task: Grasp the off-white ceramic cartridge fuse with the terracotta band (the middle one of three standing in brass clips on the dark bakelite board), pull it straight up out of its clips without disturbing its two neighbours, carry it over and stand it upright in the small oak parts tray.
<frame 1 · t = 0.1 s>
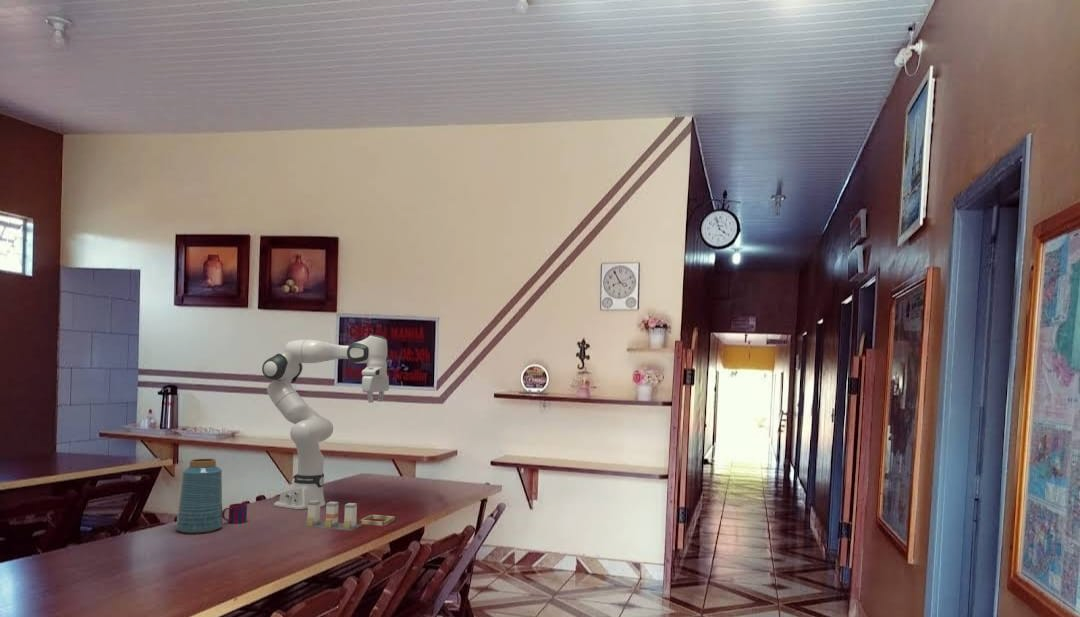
hand: (375, 402, 326), 48 cm above the table, fingers open, 8 cm apart
fuse right: (350, 527, 286), point 1 cm above the table, touching fuse board
mug: (233, 523, 295), on the table
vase: (199, 529, 282), on the table
tray: (377, 524, 297), on the table
fuse marked: (331, 525, 288), point 1 cm above the table, touching fuse board
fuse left: (313, 524, 290), point 1 cm above the table, touching fuse board
fuse board: (331, 528, 288), on the table
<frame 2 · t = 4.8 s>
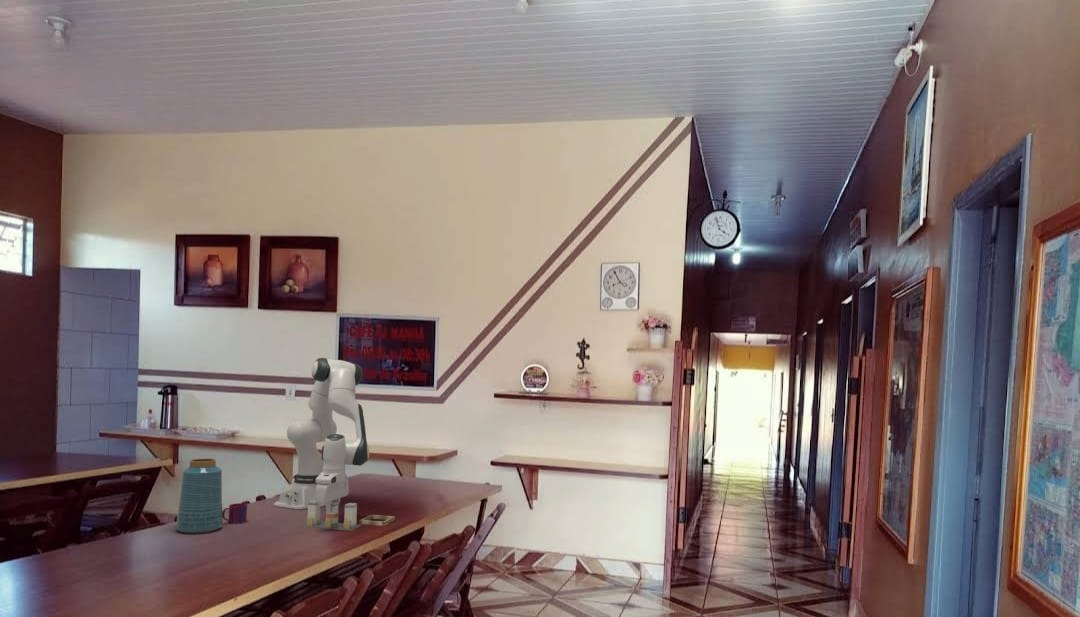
hand: (332, 511, 289), 7 cm above the table, fingers closed on fuse marked, 3 cm apart
fuse marked: (331, 525, 288), point 1 cm above the table, touching fuse board, gripper
everything else where it was.
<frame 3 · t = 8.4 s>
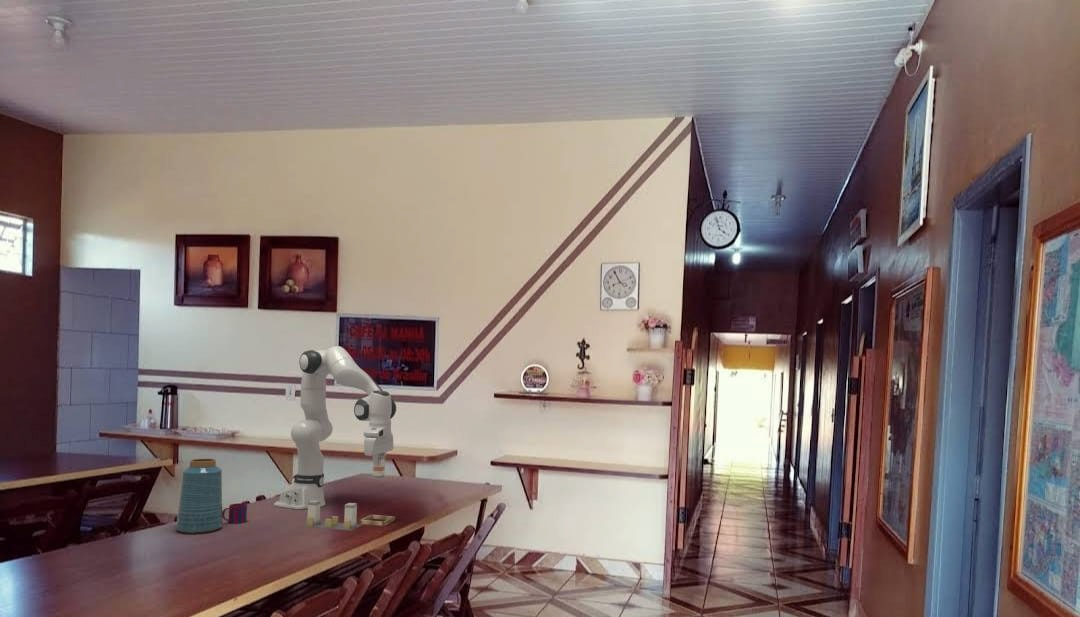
hand: (378, 464, 298), 24 cm above the table, fingers closed on fuse marked, 3 cm apart
fuse marked: (378, 478, 298), point 19 cm above the table, touching gripper
everything else where it was.
when the fingers open (8 cm above the table, at t = 12.2 s): fuse marked drops 2 cm, resting on tray.
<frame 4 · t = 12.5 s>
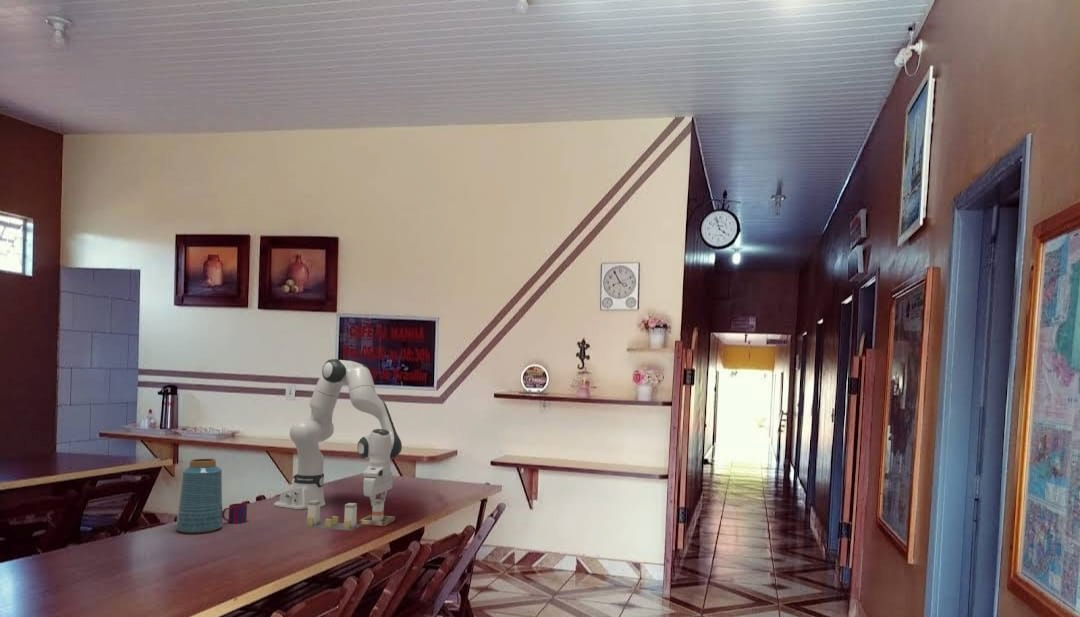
hand: (378, 503, 297), 8 cm above the table, fingers open, 7 cm apart
fuse marked: (377, 522, 297), point 1 cm above the table, touching tray
everything else where it was.
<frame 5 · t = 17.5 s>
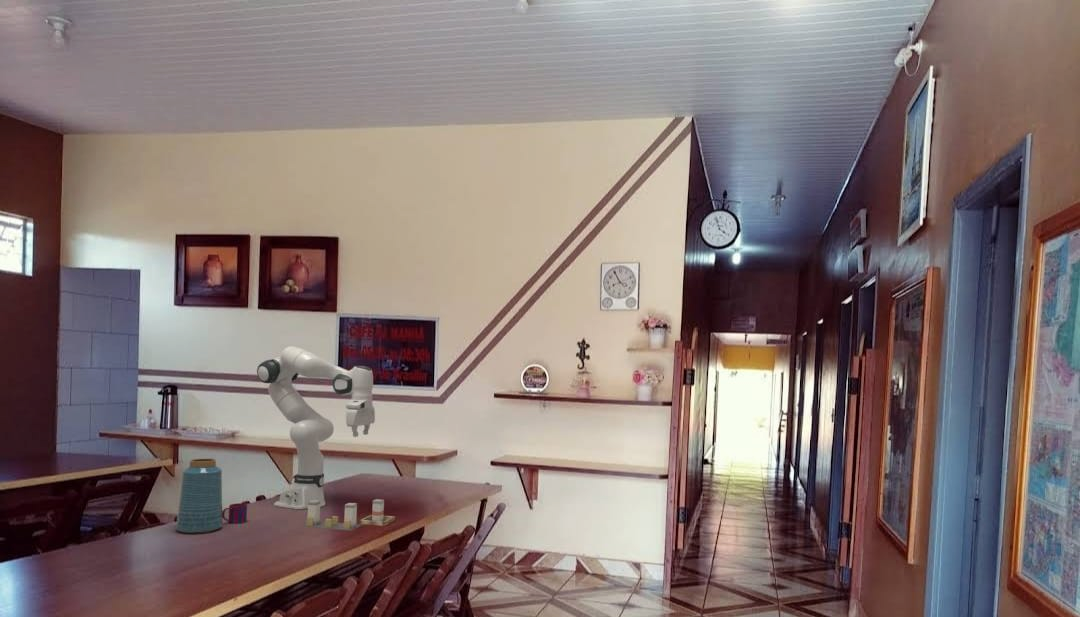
hand: (360, 435, 314), 34 cm above the table, fingers open, 8 cm apart
nothing on the table moved.
at the end: fuse marked inside the target area on the tray (0.1 cm from its centre), point 0.8 cm above the tray's base; fuse marked tilted 0°; fuse right moved 0.0 cm from its start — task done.
